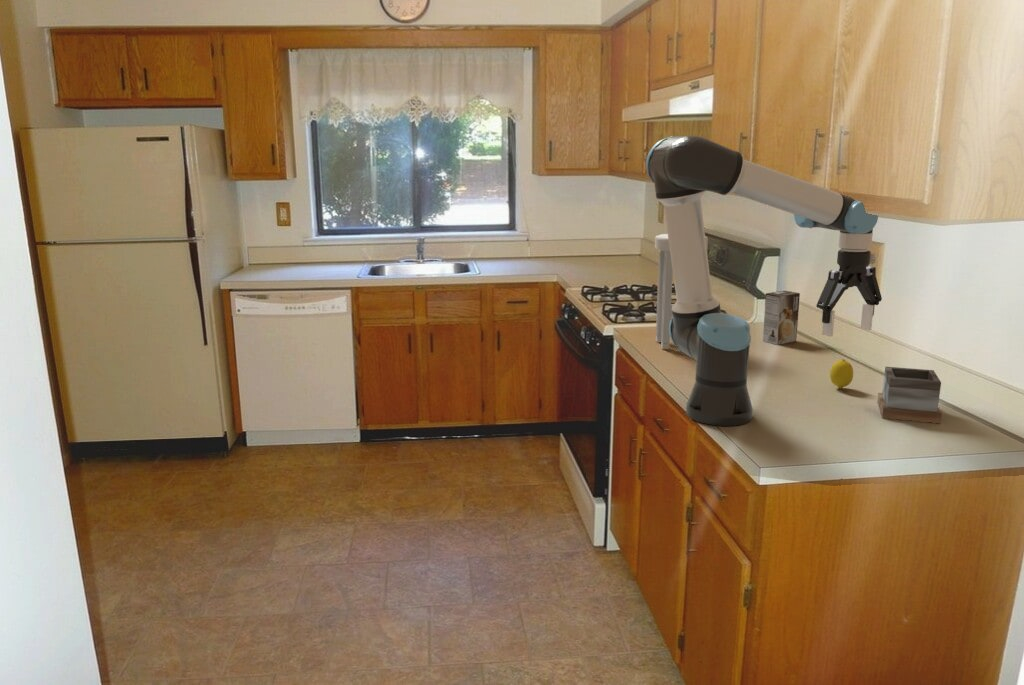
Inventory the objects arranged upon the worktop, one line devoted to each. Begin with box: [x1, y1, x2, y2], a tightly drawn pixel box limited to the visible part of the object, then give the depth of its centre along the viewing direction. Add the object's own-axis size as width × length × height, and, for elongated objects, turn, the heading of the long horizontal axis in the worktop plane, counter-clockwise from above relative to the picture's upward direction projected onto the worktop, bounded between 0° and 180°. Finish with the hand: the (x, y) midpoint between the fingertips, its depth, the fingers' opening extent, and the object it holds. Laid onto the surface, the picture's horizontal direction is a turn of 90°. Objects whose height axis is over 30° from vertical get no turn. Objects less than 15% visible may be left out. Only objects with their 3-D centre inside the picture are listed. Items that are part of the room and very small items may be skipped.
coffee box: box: [762, 290, 801, 346], centre depth 245 cm, size 9×6×16 cm
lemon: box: [829, 358, 854, 390], centre depth 197 cm, size 6×6×8 cm
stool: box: [654, 233, 709, 350], centre depth 239 cm, size 16×16×35 cm
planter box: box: [876, 366, 943, 424], centre depth 178 cm, size 12×12×10 cm
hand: (846, 332), depth 194 cm, fingers open, 13 cm apart
